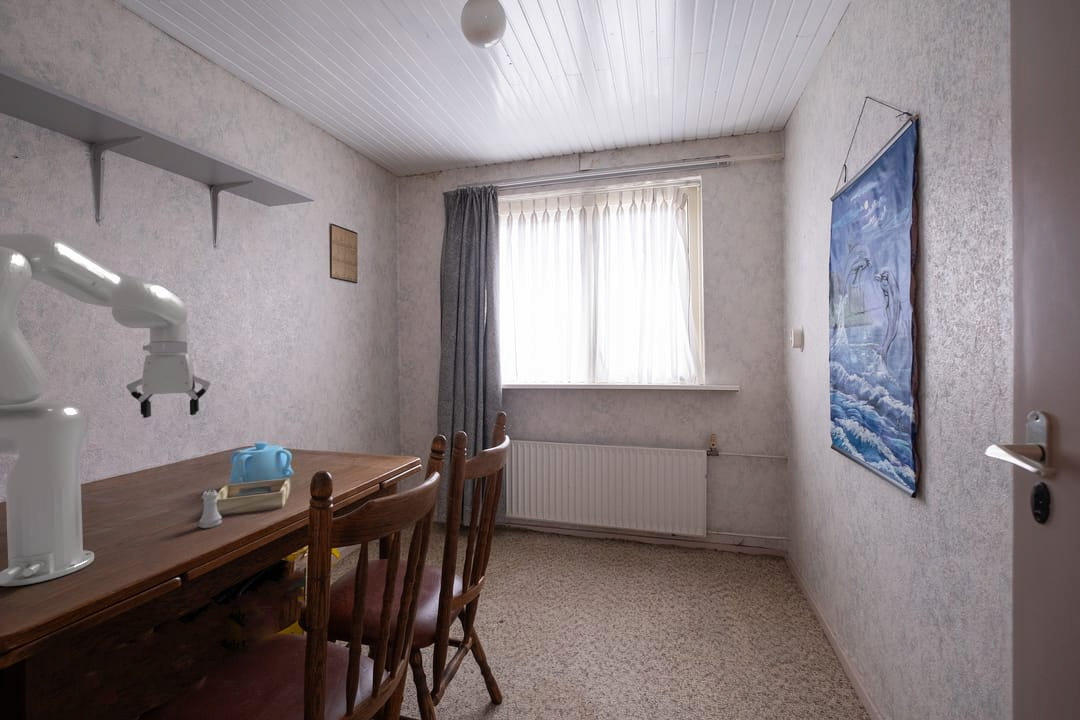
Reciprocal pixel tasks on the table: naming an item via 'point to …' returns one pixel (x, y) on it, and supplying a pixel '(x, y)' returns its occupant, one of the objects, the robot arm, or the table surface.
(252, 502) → the beech box
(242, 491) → the socket
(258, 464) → the decorative pot
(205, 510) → the rook chess piece
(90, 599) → the table surface
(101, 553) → the table surface
